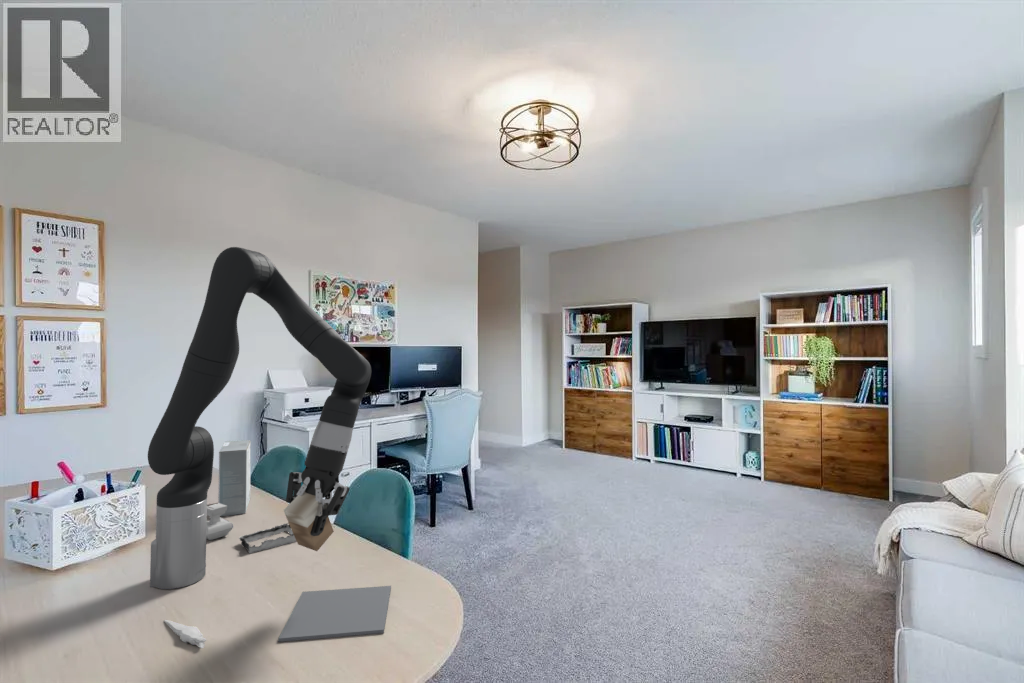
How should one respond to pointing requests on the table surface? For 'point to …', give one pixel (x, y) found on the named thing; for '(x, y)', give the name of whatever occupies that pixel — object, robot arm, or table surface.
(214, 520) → the stamp
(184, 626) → the white tapered spike part
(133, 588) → the table surface
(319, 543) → the cream and brown block
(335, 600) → the charcoal mat
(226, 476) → the hard drive box
